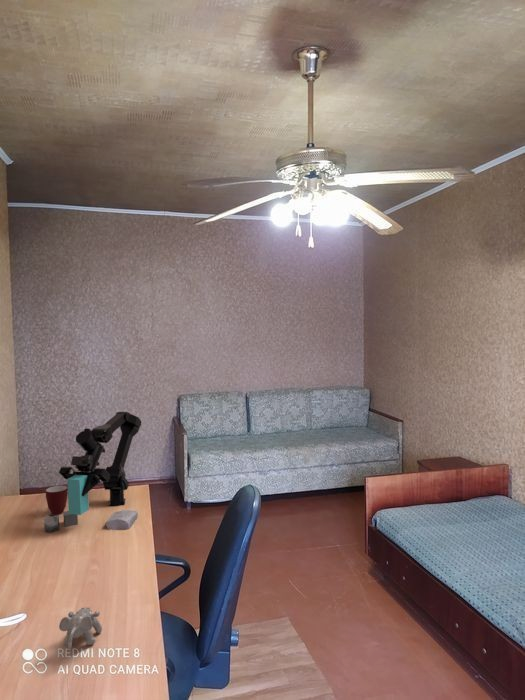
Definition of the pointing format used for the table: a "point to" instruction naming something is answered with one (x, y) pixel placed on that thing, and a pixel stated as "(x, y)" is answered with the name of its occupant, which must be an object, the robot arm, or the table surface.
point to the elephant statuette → (80, 626)
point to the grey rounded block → (51, 523)
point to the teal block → (77, 495)
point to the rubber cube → (70, 519)
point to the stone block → (122, 519)
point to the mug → (56, 499)
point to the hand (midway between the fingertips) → (75, 495)
